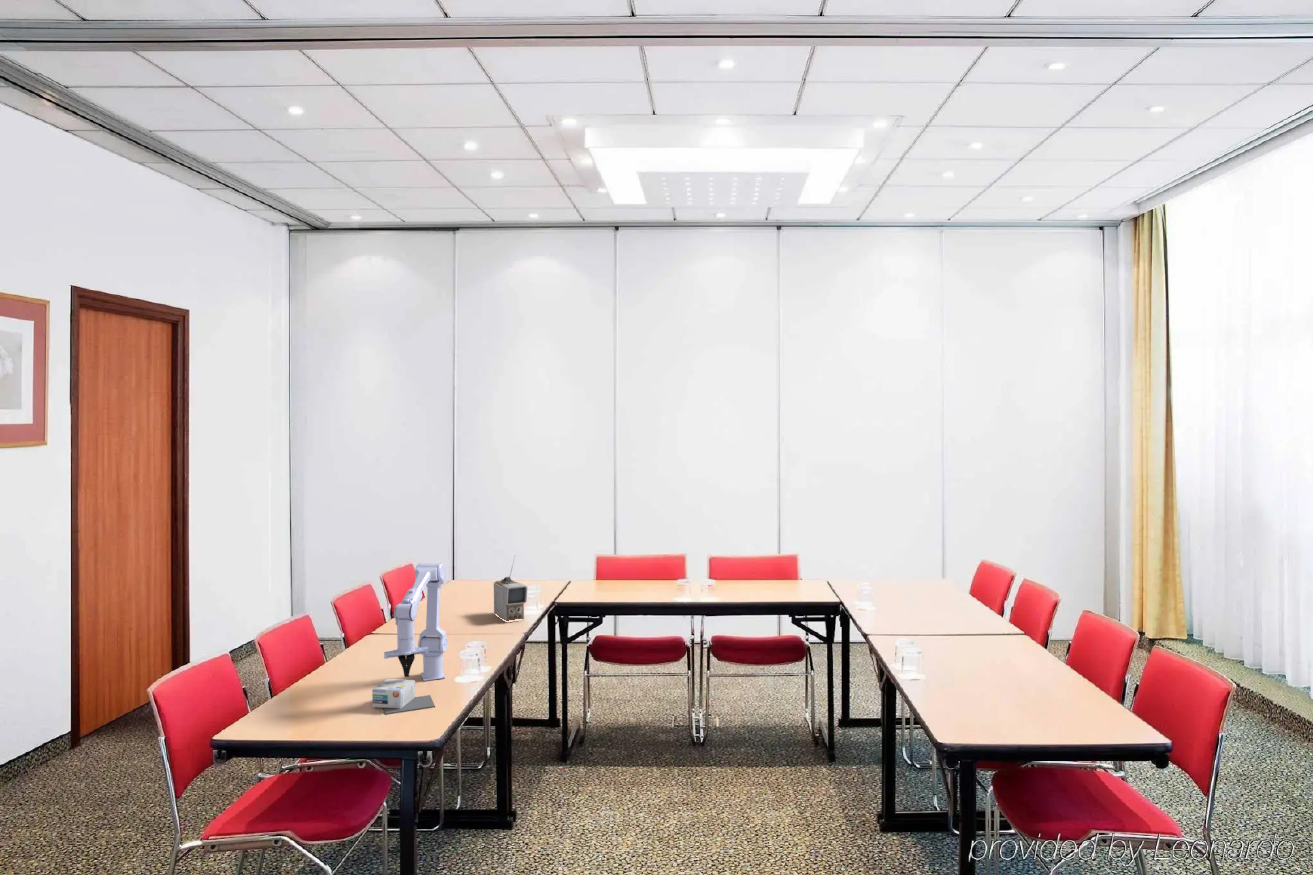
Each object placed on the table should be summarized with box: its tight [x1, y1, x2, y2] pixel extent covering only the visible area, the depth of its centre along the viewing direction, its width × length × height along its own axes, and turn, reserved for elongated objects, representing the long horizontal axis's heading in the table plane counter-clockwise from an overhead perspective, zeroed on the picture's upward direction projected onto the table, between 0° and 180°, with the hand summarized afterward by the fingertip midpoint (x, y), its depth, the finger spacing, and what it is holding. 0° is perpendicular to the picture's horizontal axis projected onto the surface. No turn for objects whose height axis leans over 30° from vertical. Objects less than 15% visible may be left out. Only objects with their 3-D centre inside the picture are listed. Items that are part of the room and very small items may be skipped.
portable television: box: [493, 554, 528, 621], centre depth 387 cm, size 12×24×30 cm, turn 29°
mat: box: [383, 694, 436, 715], centre depth 266 cm, size 12×16×1 cm
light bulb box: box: [371, 678, 416, 709], centre depth 267 cm, size 11×7×11 cm
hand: (406, 676), depth 271 cm, fingers closed
